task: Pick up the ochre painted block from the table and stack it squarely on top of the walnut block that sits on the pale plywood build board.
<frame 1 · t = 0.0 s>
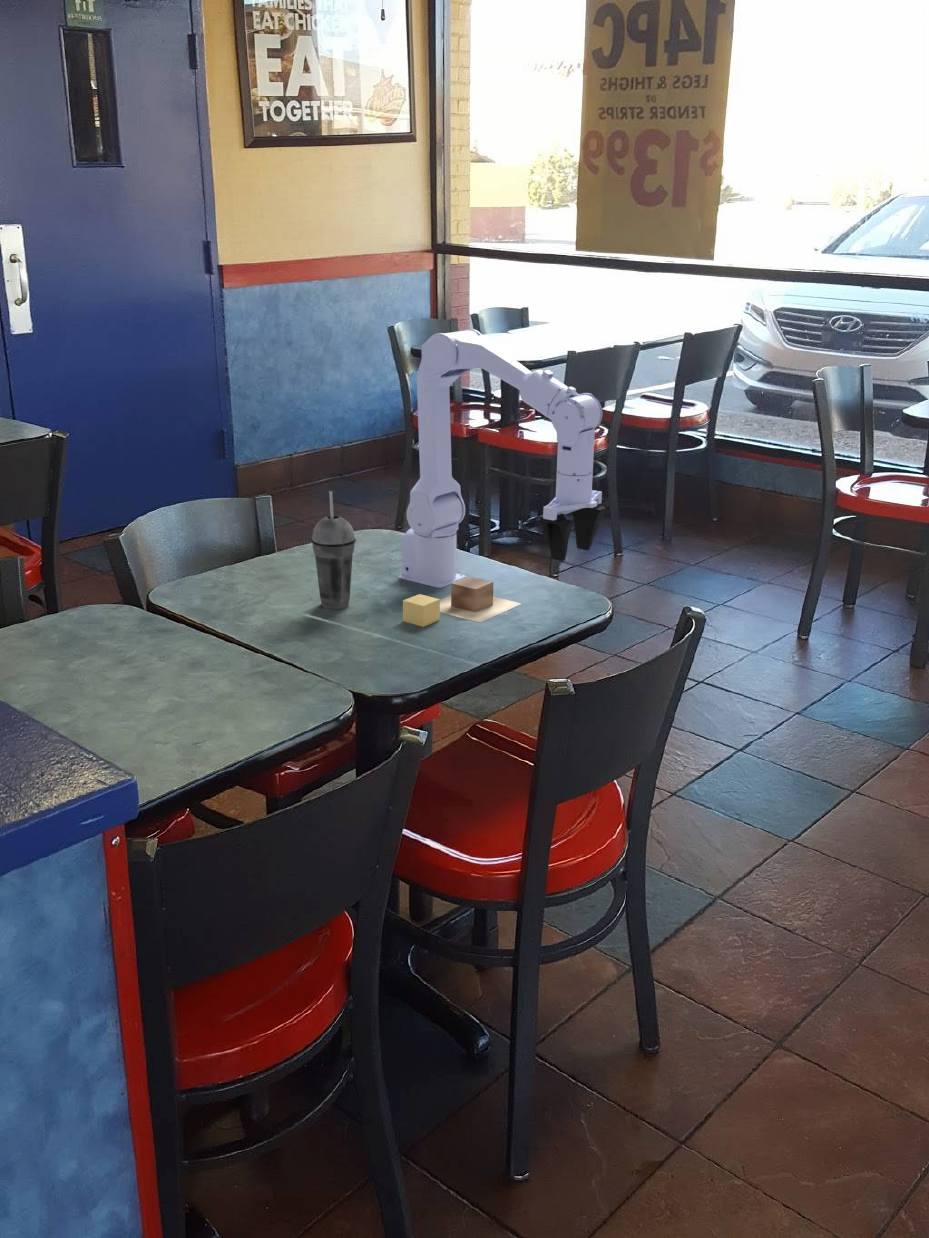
hand: (571, 554, 196), 10 cm above the table, fingers open, 7 cm apart
walnut block: (472, 605, 201), resting on build board
beverage cup: (335, 608, 200), on the table
build board: (472, 607, 201), on the table
ochre block: (421, 623, 194), on the table
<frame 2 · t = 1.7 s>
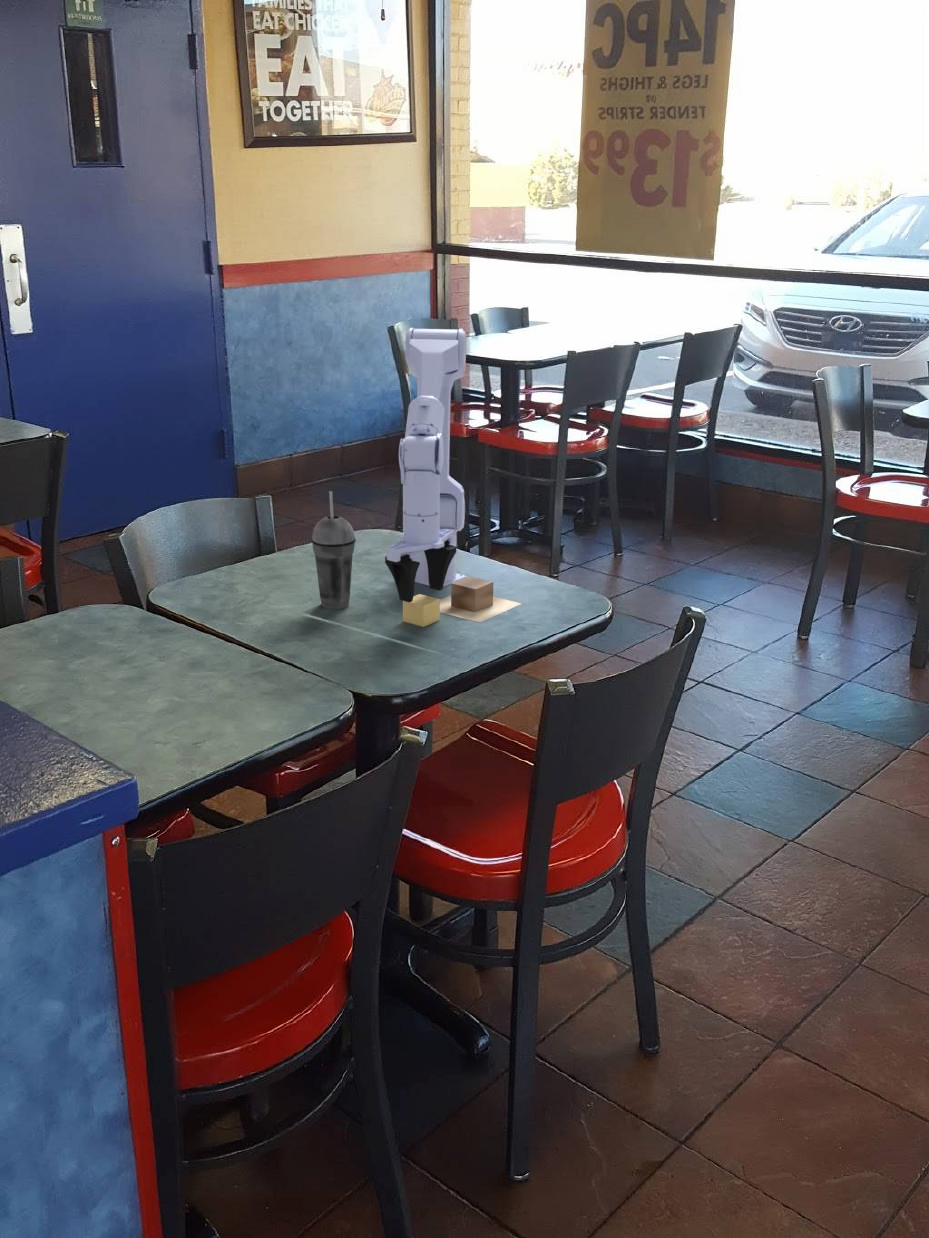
hand: (421, 594, 192), 5 cm above the table, fingers open, 7 cm apart
nothing on the table moved.
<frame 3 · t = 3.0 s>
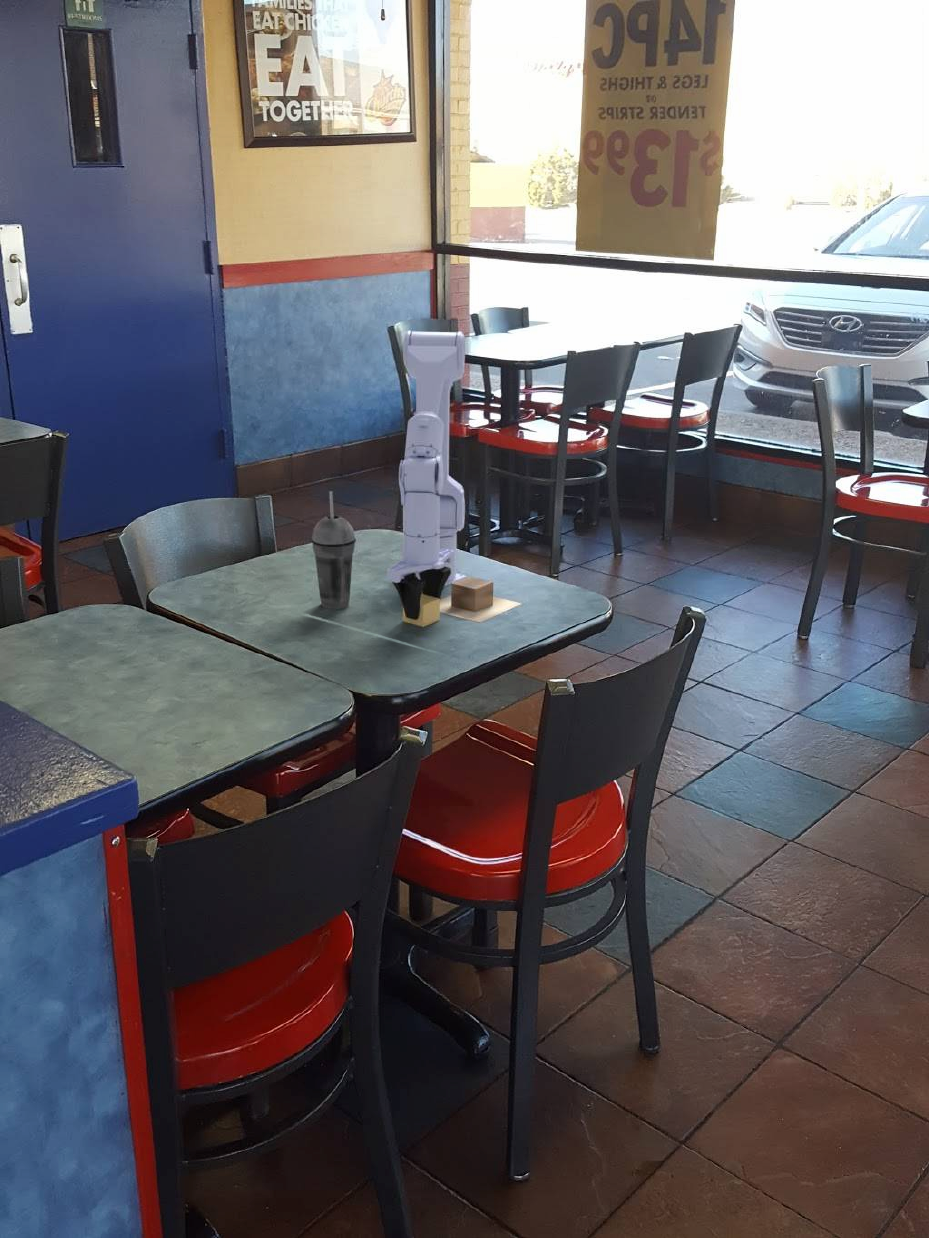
hand: (421, 614, 193), 1 cm above the table, fingers closed on ochre block, 4 cm apart
ochre block: (421, 622, 194), on the table, touching gripper
everything else where it was.
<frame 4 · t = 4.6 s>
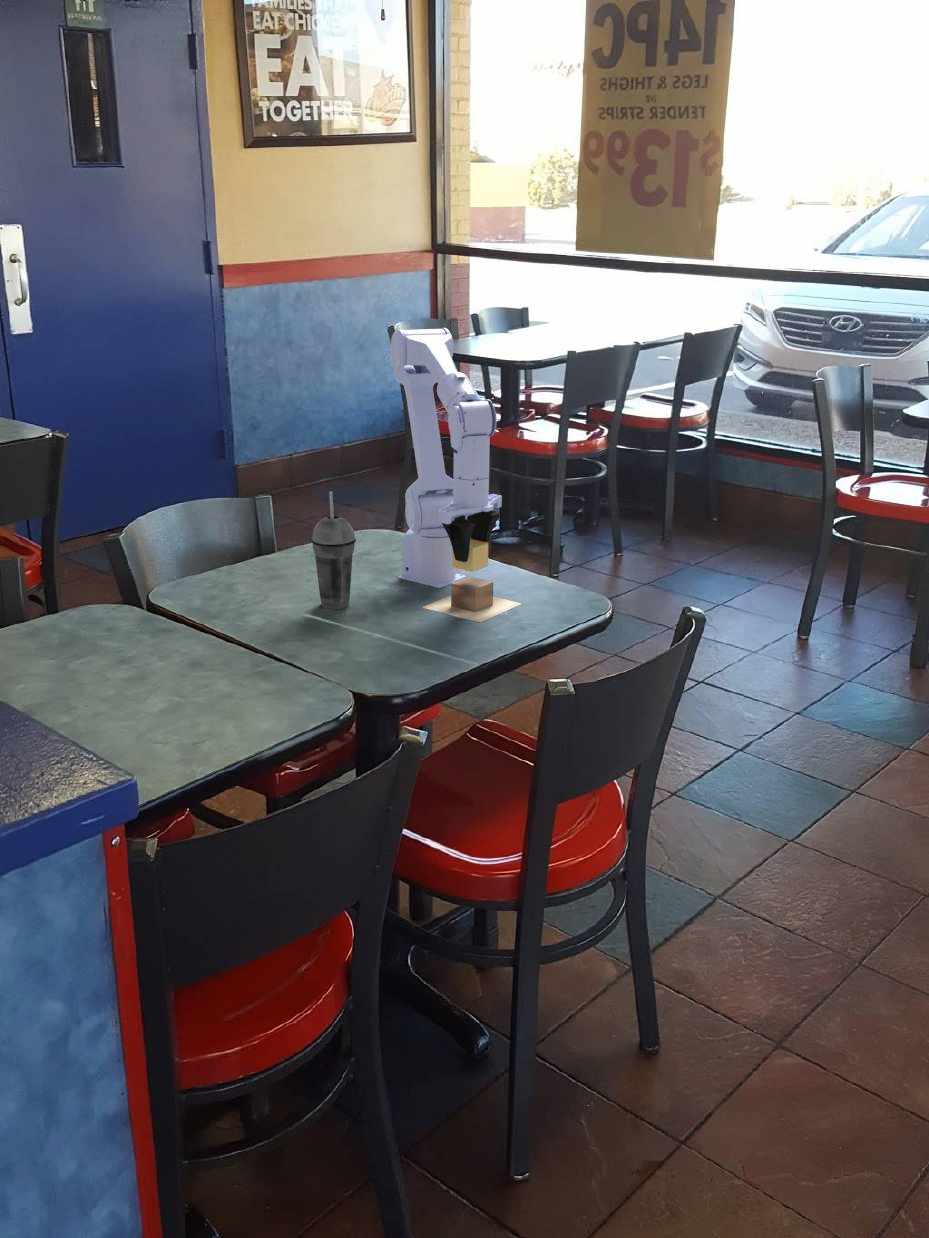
hand: (470, 557, 198), 9 cm above the table, fingers closed on ochre block, 4 cm apart
ochre block: (470, 566, 198), point 7 cm above the table, touching gripper
everything else where it was.
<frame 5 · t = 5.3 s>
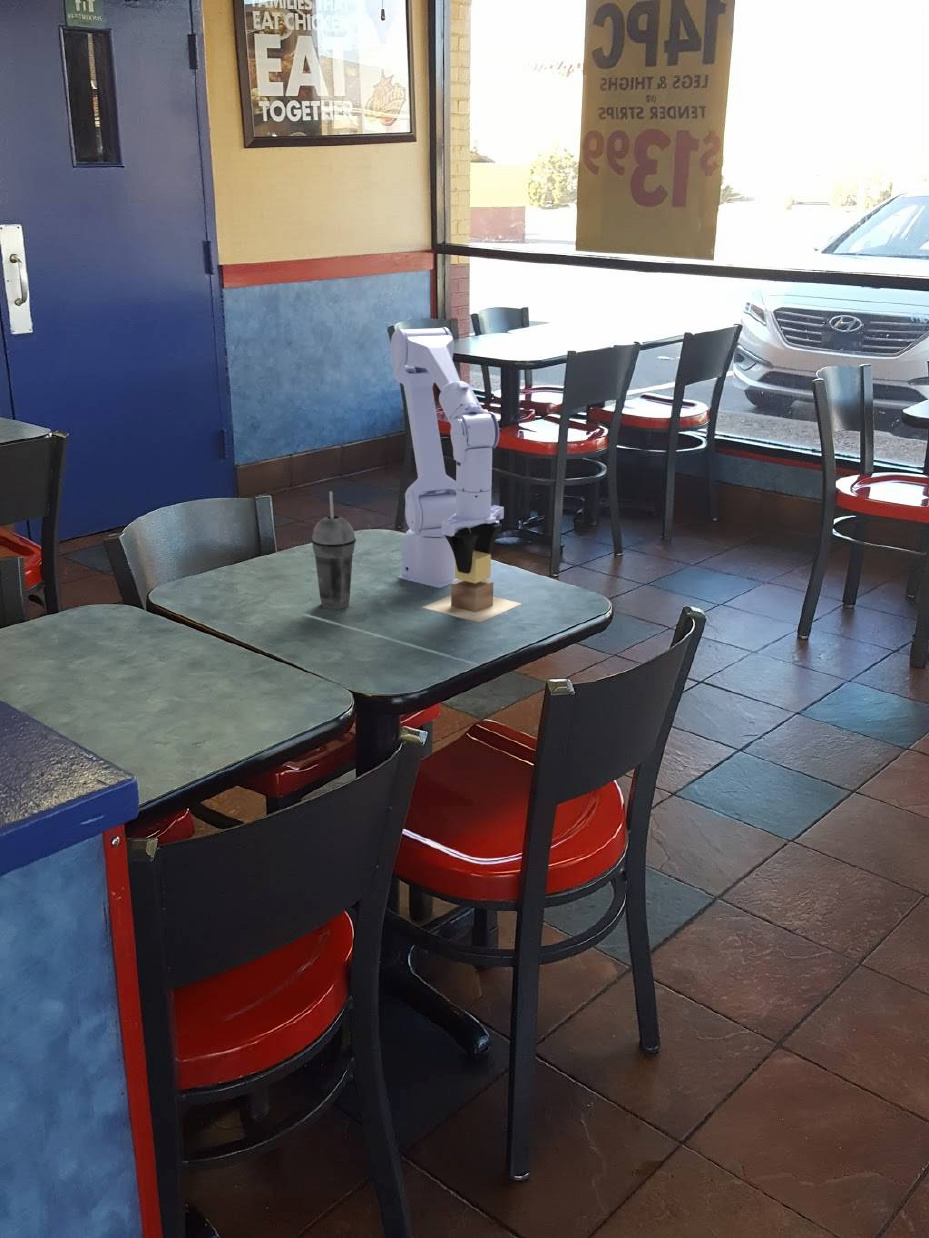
hand: (472, 568, 199), 7 cm above the table, fingers closed on ochre block, 4 cm apart
ochre block: (472, 577, 199), point 5 cm above the table, touching gripper
everything else where it was.
when the fingers open (7 cm above the table, at t = 6.0 s): ochre block stays where it is, resting on walnut block.
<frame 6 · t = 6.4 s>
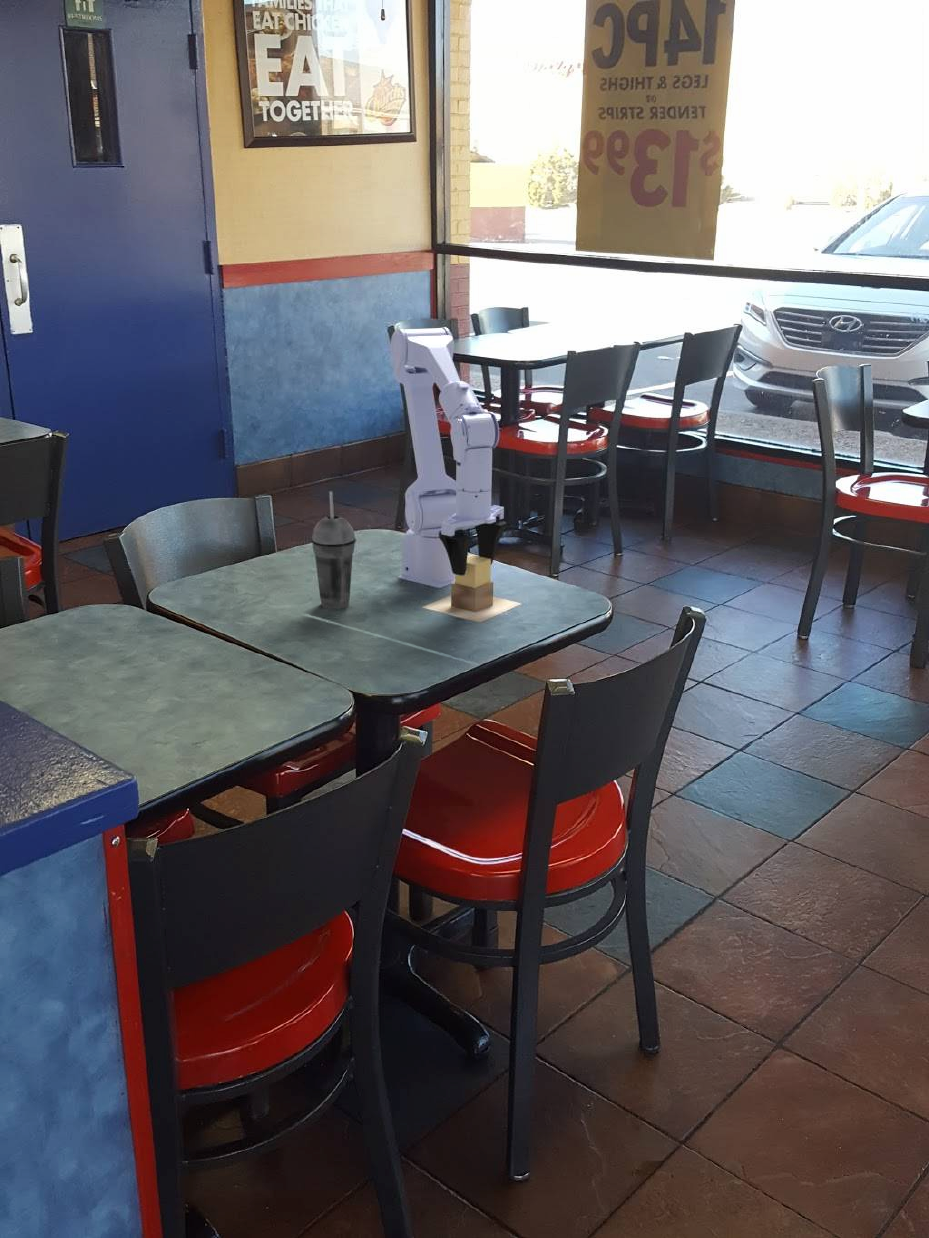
hand: (472, 568, 199), 7 cm above the table, fingers open, 7 cm apart
walnut block: (472, 605, 201), resting on build board, touching ochre block
ochre block: (472, 582, 199), point 4 cm above the table, touching walnut block
everything else where it was.
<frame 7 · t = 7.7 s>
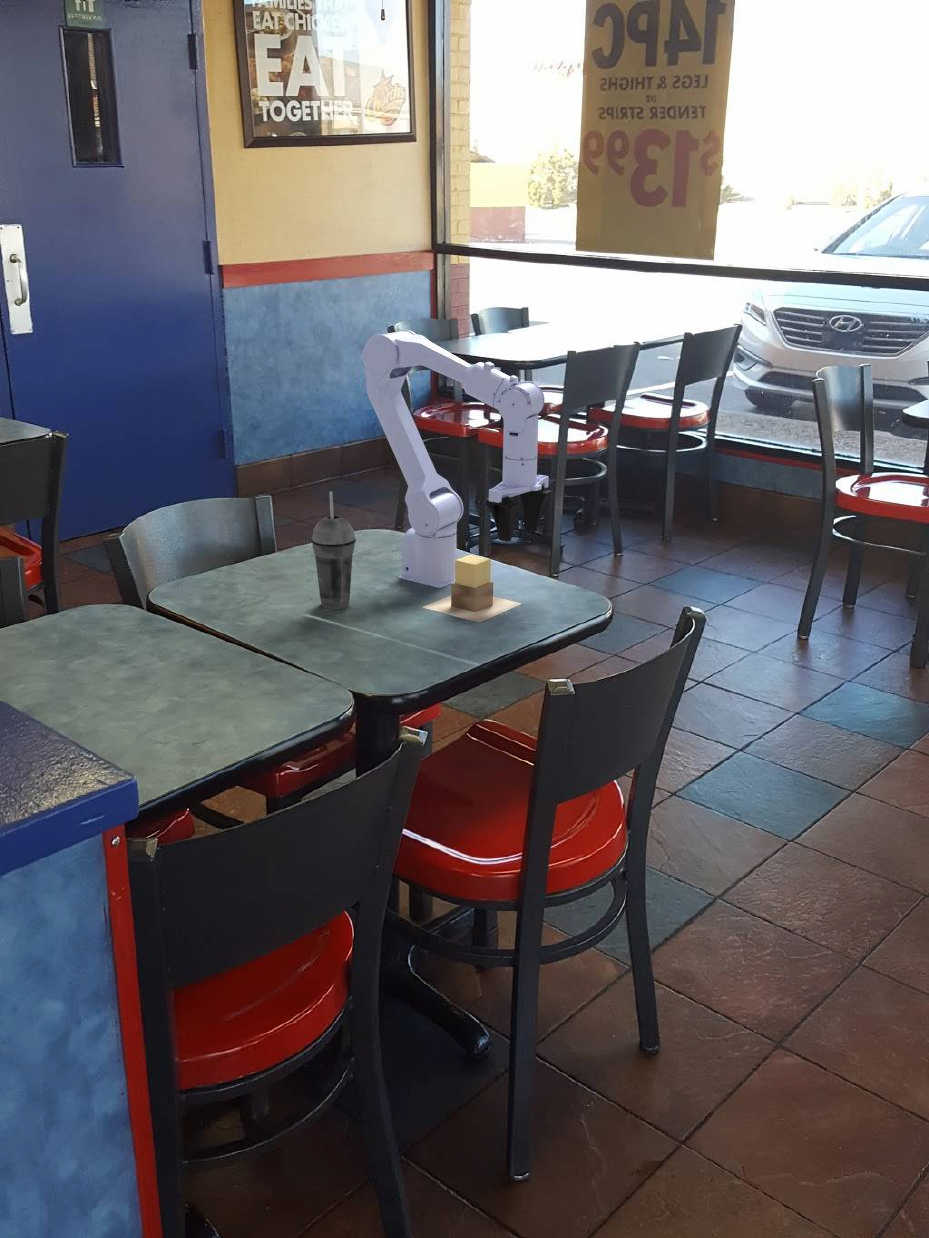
hand: (518, 535, 204), 10 cm above the table, fingers open, 7 cm apart
nothing on the table moved.
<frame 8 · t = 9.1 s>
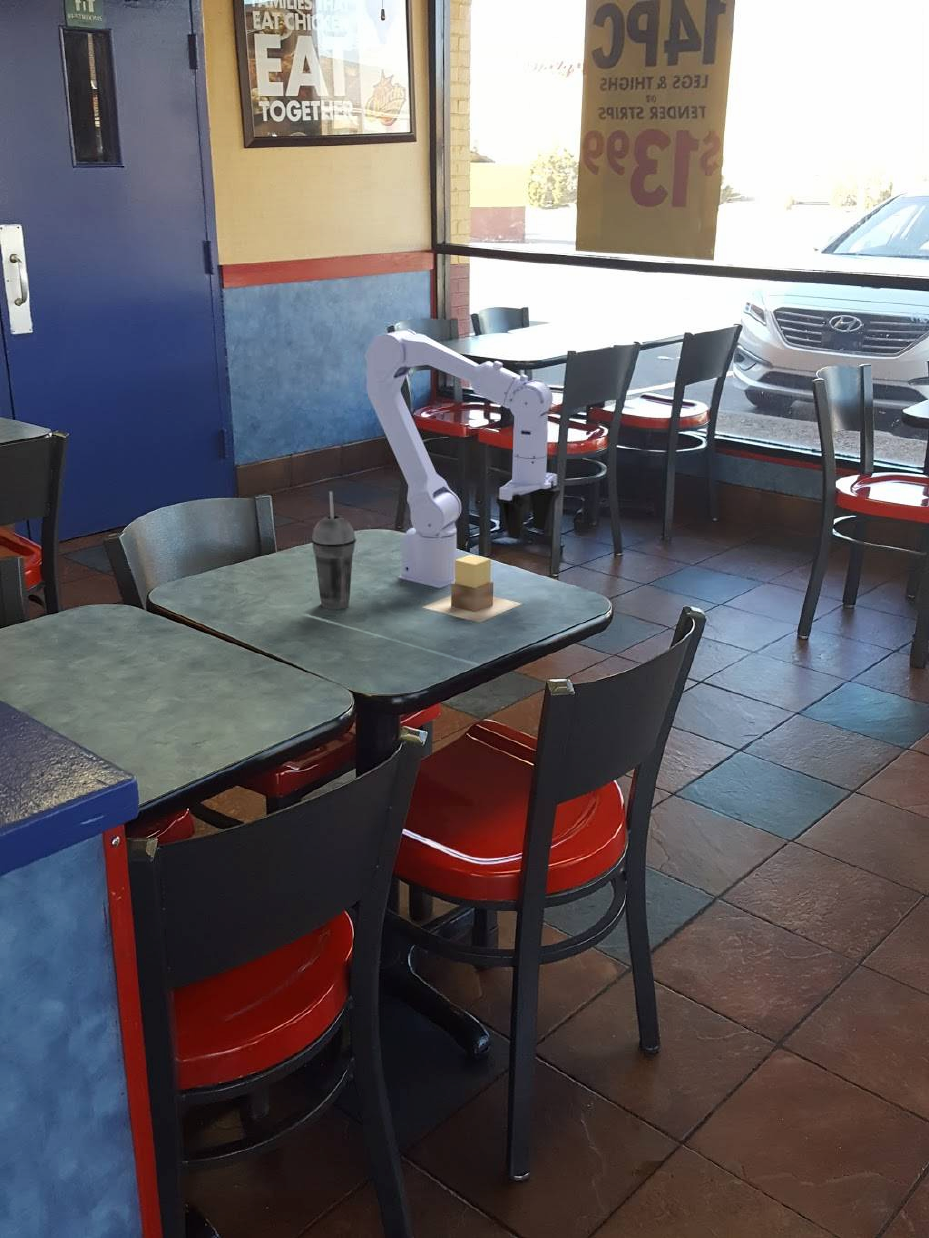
hand: (527, 533, 206), 10 cm above the table, fingers open, 7 cm apart
nothing on the table moved.
at the end: ochre block 0.0 cm off-centre on the walnut block, point 4.0 cm above the walnut block's base; ochre block tilted 0°; walnut block moved 0.0 cm from its start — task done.
